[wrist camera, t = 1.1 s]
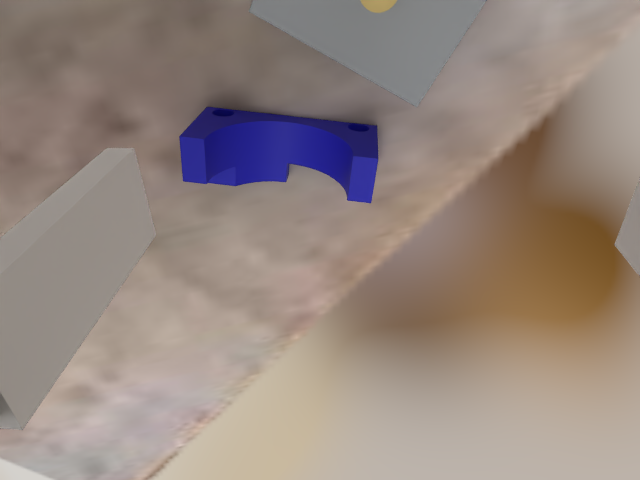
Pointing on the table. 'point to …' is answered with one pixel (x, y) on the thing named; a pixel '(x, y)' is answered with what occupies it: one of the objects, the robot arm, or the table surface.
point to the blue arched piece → (278, 149)
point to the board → (378, 36)
